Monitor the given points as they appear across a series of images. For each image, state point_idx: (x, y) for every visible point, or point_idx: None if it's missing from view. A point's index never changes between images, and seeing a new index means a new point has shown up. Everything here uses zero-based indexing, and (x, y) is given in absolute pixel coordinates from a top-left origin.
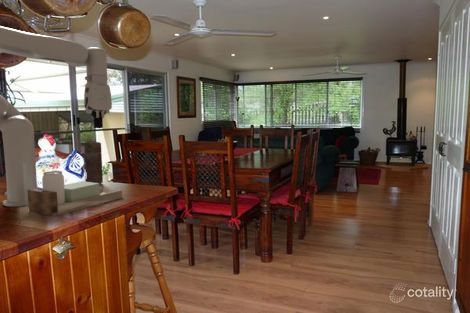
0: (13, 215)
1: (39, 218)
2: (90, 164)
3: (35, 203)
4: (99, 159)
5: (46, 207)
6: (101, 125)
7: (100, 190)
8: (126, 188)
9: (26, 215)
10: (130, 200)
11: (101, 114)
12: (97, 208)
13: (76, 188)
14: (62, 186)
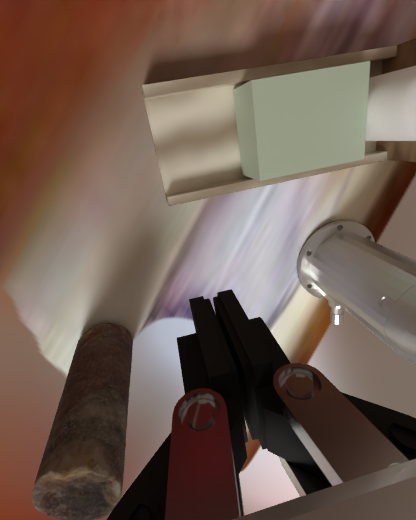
0: None
1: None
2: (119, 380)
3: None
4: (78, 392)
5: None
6: (206, 311)
7: (172, 194)
8: (48, 220)
9: None
10: (146, 16)
11: (230, 441)
12: (280, 20)
13: (349, 64)
14: (399, 71)
